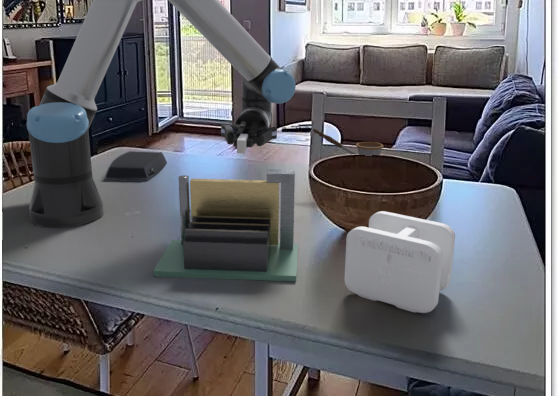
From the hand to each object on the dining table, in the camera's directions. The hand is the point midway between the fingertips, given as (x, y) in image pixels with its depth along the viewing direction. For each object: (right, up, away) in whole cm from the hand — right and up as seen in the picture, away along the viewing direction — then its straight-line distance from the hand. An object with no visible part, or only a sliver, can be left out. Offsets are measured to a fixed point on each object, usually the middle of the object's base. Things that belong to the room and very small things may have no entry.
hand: (240, 146), depth 119 cm
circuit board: (-1, -22, -13) cm, 25 cm away
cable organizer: (+27, -26, -24) cm, 44 cm away
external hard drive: (-31, -3, +45) cm, 55 cm away
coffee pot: (+25, -9, +27) cm, 38 cm away
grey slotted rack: (0, -21, -12) cm, 25 cm away
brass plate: (0, -18, -8) cm, 20 cm away
